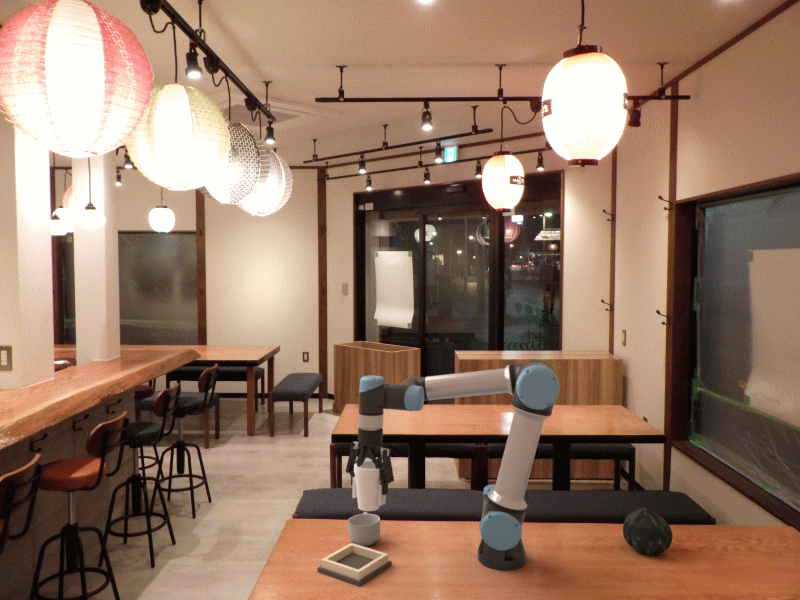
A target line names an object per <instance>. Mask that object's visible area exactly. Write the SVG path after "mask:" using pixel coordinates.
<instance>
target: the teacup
mask: <svg viewBox="0 0 800 600" xmlns="http://www.w3.org/2000/svg"><path fill="white" fill-rule="evenodd" d="M347 526H348V527H347V528H348V535H349V539H350V540H351V543H352V542H353V544H357V545H360V546H363V547H368V546H371V545H373V544H376V542H377V541H378V539H379V538H380V535H381V518H380V516H379V515H377V514H374V513H369V511H363V512H362V513H359V514H354V515H353V516H351V517H349V518H348V519H347Z"/></svg>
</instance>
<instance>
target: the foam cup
mask: <svg viewBox="0 0 800 600" xmlns="http://www.w3.org/2000/svg"><path fill="white" fill-rule="evenodd" d="M383 468H384V467H383ZM354 473H355V481H356V491H357V497H356V498H357V499H356V500H357V501H356V502H357V507H358V510H360V511H363V512H374V511H377V510H379V508H380V506H378V495H379V484H380V483H381V481H380V478H379V469H376V467H375V464H374V463H373V462H372V459H368V460H366V459H365V460H364V462H363V464H362V465H361V466H359V467H358V466H357V463H356V462H355V464H354Z"/></svg>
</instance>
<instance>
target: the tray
mask: <svg viewBox="0 0 800 600" xmlns="http://www.w3.org/2000/svg"><path fill="white" fill-rule="evenodd" d="M320 562H321V563H320V566H318V567H317V572H318V573H320V574H323V575H326V576H329V577H331V578H335V579H337V580H341V581H342V582H346V583H348V584H351V585H354V586H357V587H361V586H363V585H365V584H366V583H367V582H369V581H370V580H372V579H374V578H375V577H376V576H378V575H380V574H381V573H382V572H384V571H386V570H387V569H389V568H390V567H392V566H393V562H392V560H389V554H388V553H386V552H382V551H380V550H376V549H373V548H369V547H367V546H360V545H357V544H355V543H354V542H353V543H352V542H351V543H349V544H347V545H345V546H343V547H341V548H340V549H337V550H336V551H334V552H332V553H331V554H329V555H327V556H325V557H323V558H322V559H321V560H320Z"/></svg>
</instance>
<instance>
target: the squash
mask: <svg viewBox="0 0 800 600" xmlns="http://www.w3.org/2000/svg"><path fill="white" fill-rule="evenodd" d="M624 519H625V520H624V522H623V526H622V535H623V538H624V541H625V542H626V543H627V544H628V545H629V547H631V548H633V549H634V550H635V552H636V553H638V554H643V553H644V554H645V555H647V556H651V555H653V554H655V555H662V554H663V553H665V552H666V551H667V550H668V549H669V547H671V544H672V541H673V536H674V535H673V530H672V528H671V526H670V525H669V523H668V522H667V521H666V519H664V517H663V516H662V515H660V514H659V513H657V512H656V511H654V510H652V509H649V508H646V507H643V508H639V509H637V510H634V511H632V512H630V513H629V514H627V516H626V517H625V518H624Z"/></svg>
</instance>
